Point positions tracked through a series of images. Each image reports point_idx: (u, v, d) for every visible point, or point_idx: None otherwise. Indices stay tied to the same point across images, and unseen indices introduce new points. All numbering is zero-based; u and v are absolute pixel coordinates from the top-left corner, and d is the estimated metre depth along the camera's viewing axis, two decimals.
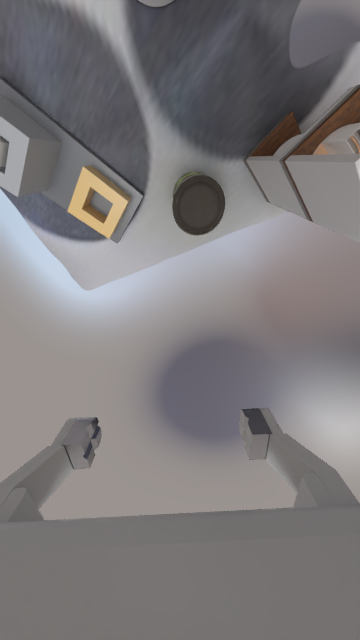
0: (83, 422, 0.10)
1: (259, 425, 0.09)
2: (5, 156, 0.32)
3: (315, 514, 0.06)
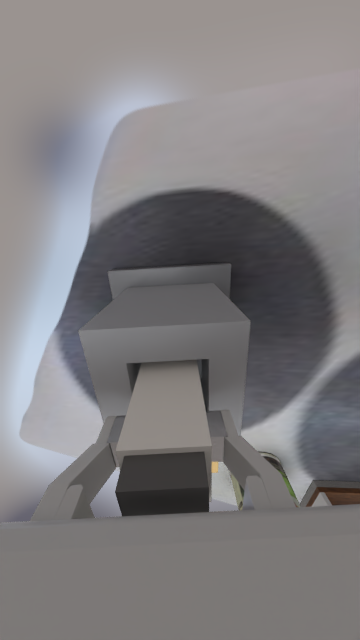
0: (123, 420, 0.10)
1: (216, 428, 0.09)
2: None
3: (315, 514, 0.06)
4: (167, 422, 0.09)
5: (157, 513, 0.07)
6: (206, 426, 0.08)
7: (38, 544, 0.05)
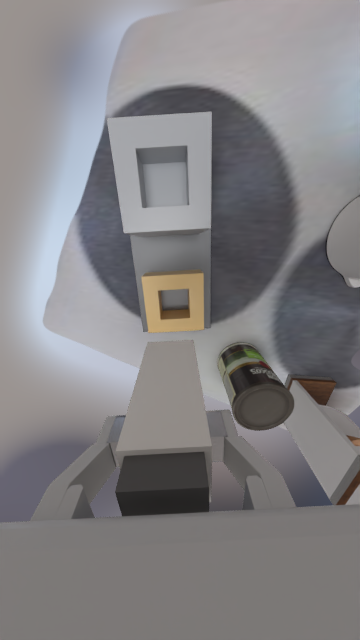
0: (123, 420, 0.10)
1: (216, 428, 0.09)
2: None
3: (315, 514, 0.06)
4: (167, 422, 0.09)
5: (157, 513, 0.07)
6: (206, 426, 0.08)
7: (38, 544, 0.05)
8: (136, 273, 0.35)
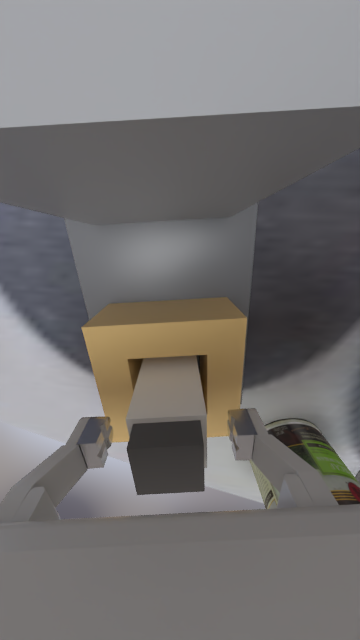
0: (96, 421, 0.10)
1: (245, 426, 0.09)
2: None
3: (315, 514, 0.06)
4: (169, 398, 0.10)
5: (161, 469, 0.08)
6: (202, 401, 0.10)
7: (38, 544, 0.05)
8: (88, 305, 0.16)
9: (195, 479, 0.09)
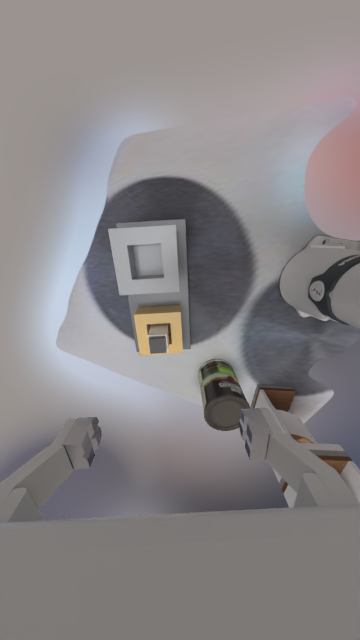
0: (83, 422, 0.10)
1: (259, 425, 0.09)
2: None
3: (315, 514, 0.06)
4: (158, 332, 0.39)
5: (155, 345, 0.37)
6: (166, 332, 0.39)
7: (38, 544, 0.05)
8: (130, 308, 0.45)
9: (163, 348, 0.38)
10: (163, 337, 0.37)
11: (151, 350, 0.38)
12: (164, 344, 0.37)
